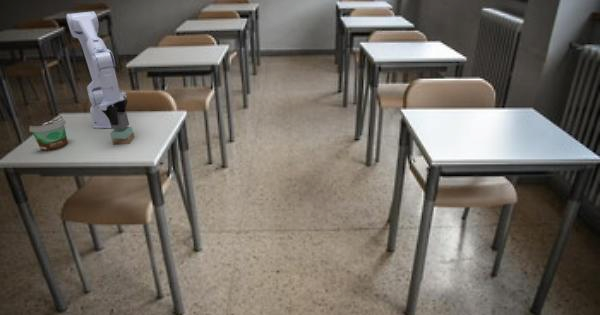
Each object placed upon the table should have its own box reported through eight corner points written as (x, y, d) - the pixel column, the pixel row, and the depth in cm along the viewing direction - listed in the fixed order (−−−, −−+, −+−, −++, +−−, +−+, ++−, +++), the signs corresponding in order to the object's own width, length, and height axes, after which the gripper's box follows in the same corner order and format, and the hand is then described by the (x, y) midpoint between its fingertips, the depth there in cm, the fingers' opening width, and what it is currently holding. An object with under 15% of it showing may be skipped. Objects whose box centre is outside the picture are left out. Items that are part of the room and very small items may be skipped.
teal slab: (111, 138, 154) (110, 132, 153) (119, 132, 159) (118, 126, 157) (125, 138, 153) (124, 132, 152) (133, 132, 158) (131, 126, 157)
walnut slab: (113, 145, 154) (112, 139, 153) (118, 139, 159) (117, 133, 158) (130, 144, 154) (128, 138, 153) (134, 138, 160) (133, 132, 158)
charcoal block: (111, 129, 153) (108, 116, 150) (118, 124, 156) (114, 111, 154) (123, 129, 152) (119, 116, 150) (129, 124, 156) (126, 112, 154)
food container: (46, 155, 148) (37, 129, 143) (36, 151, 151) (27, 126, 146) (78, 142, 157) (71, 117, 152) (69, 139, 160) (61, 114, 155)
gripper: (109, 92, 140) (118, 130, 146) (130, 80, 153) (138, 115, 159) (89, 92, 141) (99, 129, 147) (112, 80, 154) (121, 114, 160)
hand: (118, 122), depth 153 cm, fingers closed on charcoal block, 4 cm apart
